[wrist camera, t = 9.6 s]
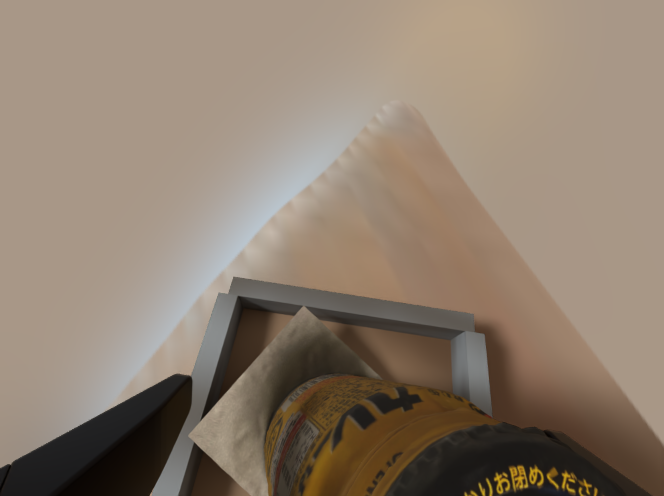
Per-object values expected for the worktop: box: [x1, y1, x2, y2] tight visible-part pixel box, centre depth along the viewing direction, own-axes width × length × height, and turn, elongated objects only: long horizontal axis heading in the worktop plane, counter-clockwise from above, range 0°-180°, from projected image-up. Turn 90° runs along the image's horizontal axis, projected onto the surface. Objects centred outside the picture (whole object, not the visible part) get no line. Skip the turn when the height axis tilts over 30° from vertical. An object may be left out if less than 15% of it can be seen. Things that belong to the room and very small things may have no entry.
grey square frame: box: [152, 277, 493, 496], centre depth 15 cm, size 14×14×3 cm
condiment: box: [188, 306, 627, 496], centre depth 10 cm, size 7×8×12 cm
